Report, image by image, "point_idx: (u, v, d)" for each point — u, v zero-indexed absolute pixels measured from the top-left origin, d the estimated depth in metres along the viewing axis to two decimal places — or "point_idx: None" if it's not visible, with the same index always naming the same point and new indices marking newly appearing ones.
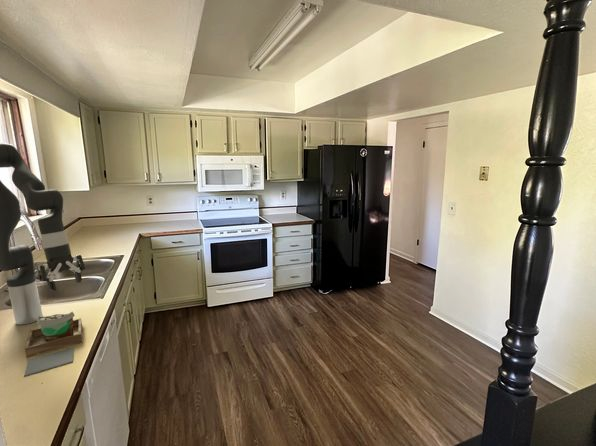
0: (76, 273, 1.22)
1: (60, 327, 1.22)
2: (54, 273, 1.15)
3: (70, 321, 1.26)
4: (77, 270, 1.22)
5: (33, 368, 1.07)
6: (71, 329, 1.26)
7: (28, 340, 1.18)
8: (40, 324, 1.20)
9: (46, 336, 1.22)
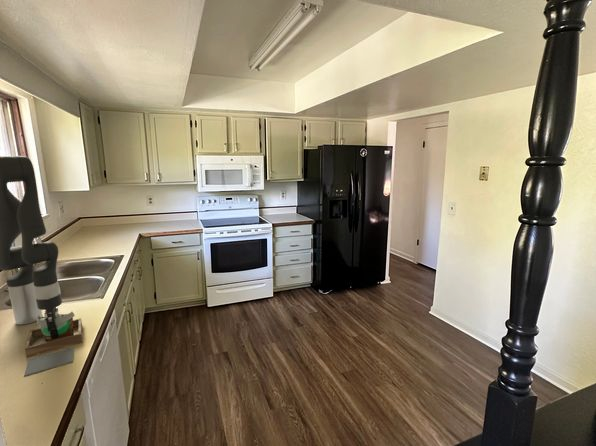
0: None
1: (60, 327, 1.22)
2: None
3: (70, 321, 1.26)
4: None
5: (33, 368, 1.07)
6: (71, 329, 1.26)
7: (28, 340, 1.18)
8: (40, 324, 1.20)
9: (46, 336, 1.22)
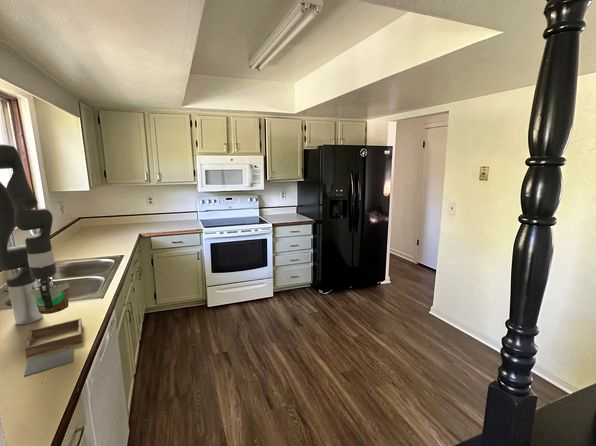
0: None
1: (55, 297, 1.19)
2: None
3: (65, 292, 1.22)
4: None
5: (33, 368, 1.07)
6: (66, 300, 1.23)
7: (28, 340, 1.18)
8: (34, 294, 1.17)
9: (40, 307, 1.19)
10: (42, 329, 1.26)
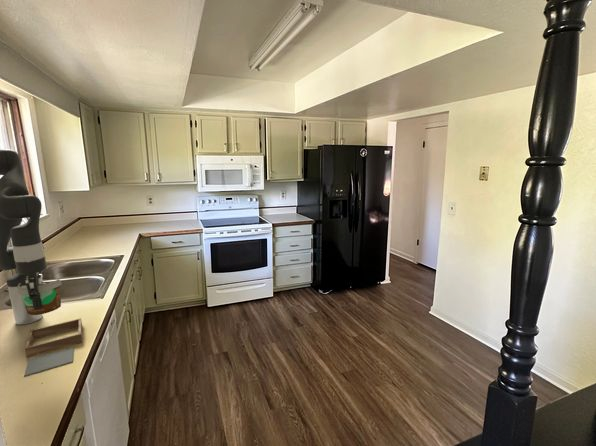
0: None
1: (45, 296, 1.05)
2: None
3: (56, 290, 1.08)
4: None
5: (33, 368, 1.07)
6: (58, 300, 1.09)
7: (28, 340, 1.18)
8: (21, 292, 1.02)
9: (28, 307, 1.04)
10: (42, 329, 1.26)
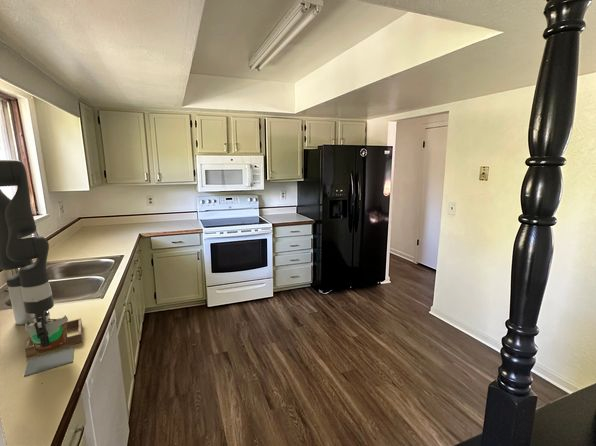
0: None
1: (52, 333, 1.08)
2: None
3: (63, 326, 1.11)
4: None
5: (33, 368, 1.07)
6: (64, 335, 1.12)
7: (28, 340, 1.18)
8: (29, 330, 1.05)
9: (35, 344, 1.07)
10: None
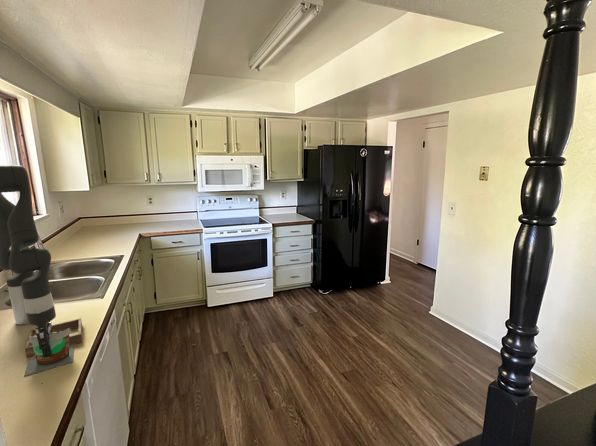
0: None
1: (55, 345, 1.09)
2: (50, 337, 1.08)
3: (66, 339, 1.12)
4: None
5: (33, 368, 1.07)
6: (66, 348, 1.13)
7: (28, 340, 1.18)
8: (32, 341, 1.07)
9: (38, 356, 1.08)
10: None
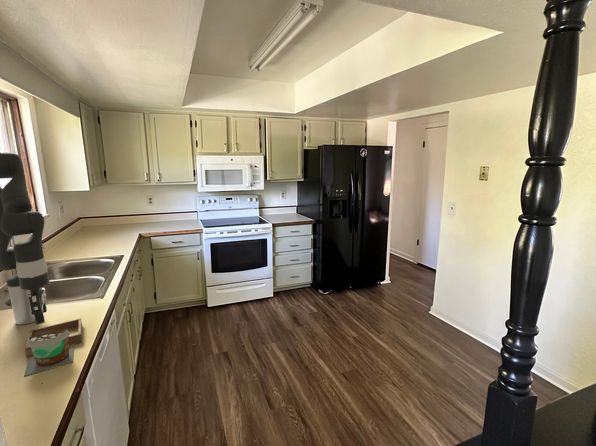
0: None
1: (54, 348, 1.08)
2: (43, 302, 1.05)
3: (65, 341, 1.11)
4: (44, 298, 1.11)
5: (33, 368, 1.07)
6: (66, 350, 1.12)
7: None
8: (31, 345, 1.05)
9: (37, 359, 1.07)
10: (42, 329, 1.26)
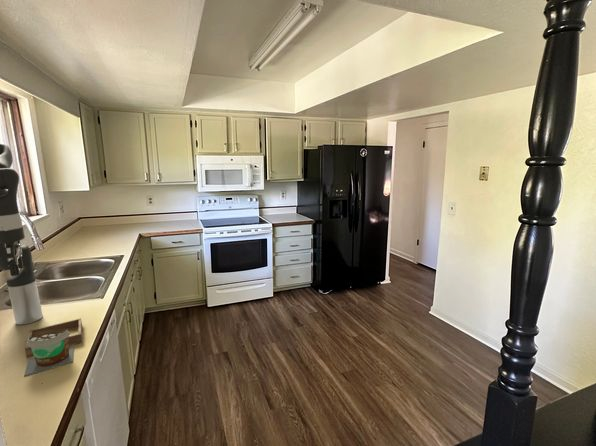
0: (18, 258, 1.16)
1: (54, 348, 1.08)
2: (18, 256, 1.10)
3: (65, 341, 1.11)
4: (21, 254, 1.16)
5: (33, 368, 1.07)
6: (66, 350, 1.12)
7: None
8: (31, 345, 1.05)
9: (37, 359, 1.07)
10: (42, 329, 1.26)
